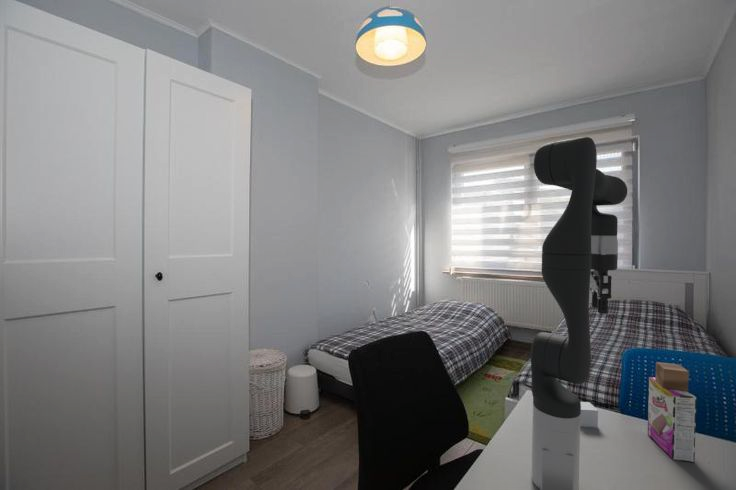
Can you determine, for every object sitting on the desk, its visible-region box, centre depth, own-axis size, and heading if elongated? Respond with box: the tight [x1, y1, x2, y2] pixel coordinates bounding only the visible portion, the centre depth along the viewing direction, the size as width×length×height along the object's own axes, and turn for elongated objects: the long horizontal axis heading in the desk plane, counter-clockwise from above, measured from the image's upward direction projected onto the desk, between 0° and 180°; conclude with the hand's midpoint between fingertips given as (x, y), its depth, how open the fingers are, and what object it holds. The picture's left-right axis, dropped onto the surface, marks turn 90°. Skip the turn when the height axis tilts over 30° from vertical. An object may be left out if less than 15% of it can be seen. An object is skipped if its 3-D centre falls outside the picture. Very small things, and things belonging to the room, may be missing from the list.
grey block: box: [580, 401, 599, 428], centre depth 103 cm, size 5×5×5 cm
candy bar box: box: [647, 376, 697, 463], centre depth 90 cm, size 11×5×16 cm, turn 168°
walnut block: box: [655, 361, 690, 392], centre depth 90 cm, size 5×5×5 cm
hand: (599, 310), depth 97 cm, fingers open, 8 cm apart
